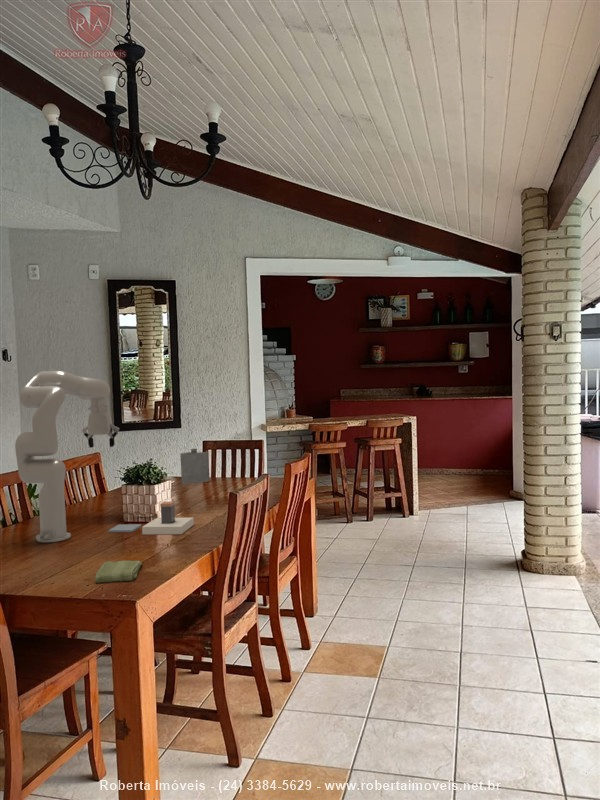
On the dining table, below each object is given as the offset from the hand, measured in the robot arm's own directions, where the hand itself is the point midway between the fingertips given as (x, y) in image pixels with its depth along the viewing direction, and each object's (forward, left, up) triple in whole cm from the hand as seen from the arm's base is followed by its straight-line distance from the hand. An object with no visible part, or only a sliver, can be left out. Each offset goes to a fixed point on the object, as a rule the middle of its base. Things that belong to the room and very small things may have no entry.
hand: (101, 447), depth 303 cm
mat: (-29, -22, -31) cm, 48 cm away
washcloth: (-88, -45, -32) cm, 104 cm away
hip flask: (+80, -18, -31) cm, 87 cm away
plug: (-30, -41, -31) cm, 60 cm away
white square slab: (-30, -41, -31) cm, 60 cm away
